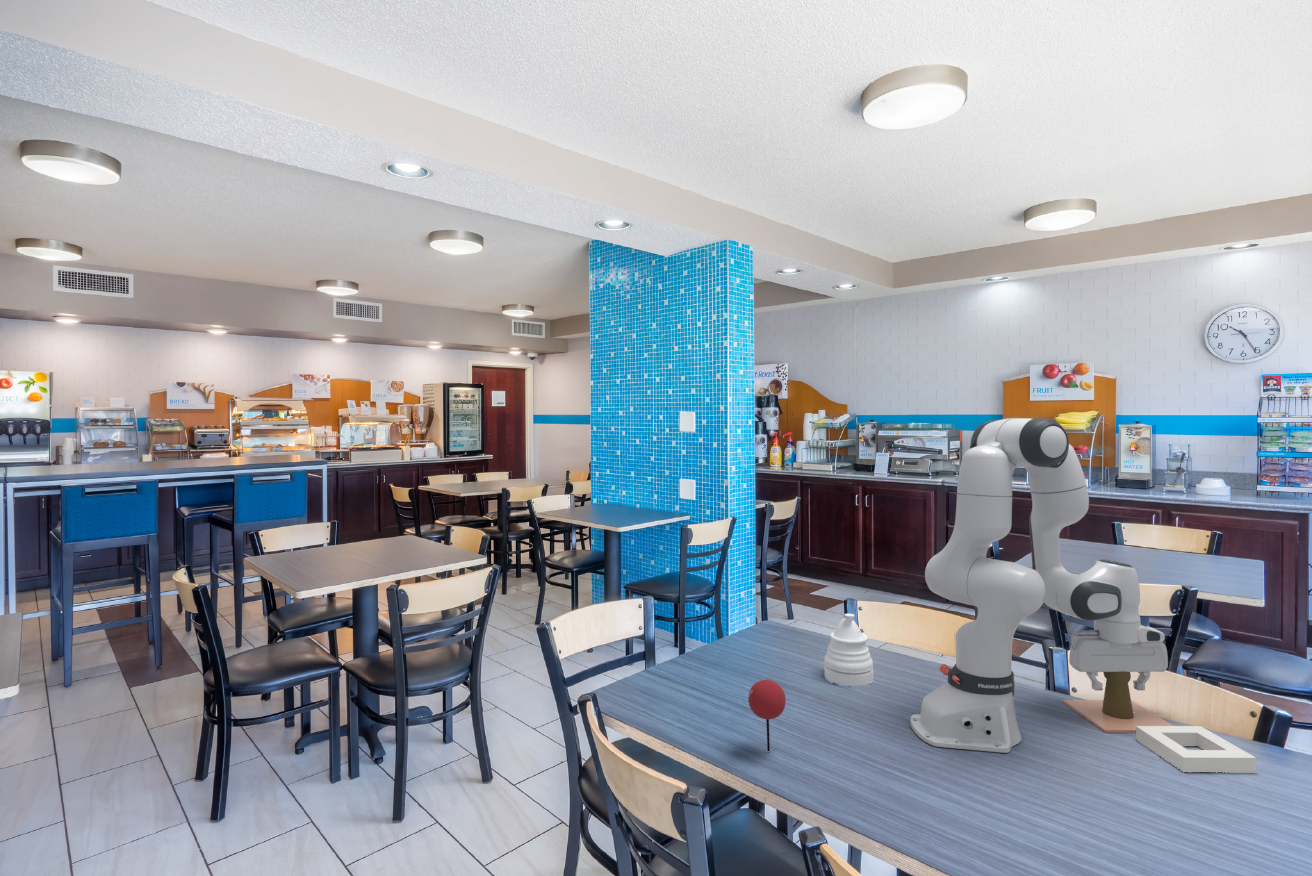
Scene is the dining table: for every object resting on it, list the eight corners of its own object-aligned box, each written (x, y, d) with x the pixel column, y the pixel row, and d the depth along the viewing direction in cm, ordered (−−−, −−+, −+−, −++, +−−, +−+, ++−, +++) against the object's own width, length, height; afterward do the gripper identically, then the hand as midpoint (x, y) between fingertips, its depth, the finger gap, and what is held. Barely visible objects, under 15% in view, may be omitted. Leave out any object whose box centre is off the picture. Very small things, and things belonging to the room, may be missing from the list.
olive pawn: (1139, 720, 145) (1138, 671, 145) (1109, 718, 146) (1108, 670, 146) (1125, 708, 151) (1124, 662, 151) (1097, 707, 152) (1096, 661, 152)
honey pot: (880, 687, 169) (878, 619, 169) (831, 687, 169) (829, 620, 169) (865, 669, 182) (863, 606, 182) (819, 670, 182) (818, 606, 182)
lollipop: (763, 739, 141) (762, 672, 141) (793, 751, 136) (792, 680, 136) (742, 752, 136) (741, 681, 136) (772, 764, 130) (770, 691, 130)
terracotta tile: (1105, 732, 141) (1105, 730, 141) (1063, 702, 157) (1062, 699, 157) (1180, 732, 140) (1180, 730, 140) (1130, 702, 156) (1130, 699, 156)
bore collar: (1184, 772, 124) (1183, 757, 124) (1136, 740, 137) (1135, 726, 137) (1256, 773, 123) (1256, 757, 123) (1200, 740, 137) (1200, 726, 137)
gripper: (1079, 634, 146) (1080, 695, 146) (1172, 634, 145) (1173, 695, 145) (1062, 626, 152) (1064, 684, 152) (1152, 625, 151) (1153, 684, 151)
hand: (1118, 689), depth 148 cm, fingers open, 8 cm apart
